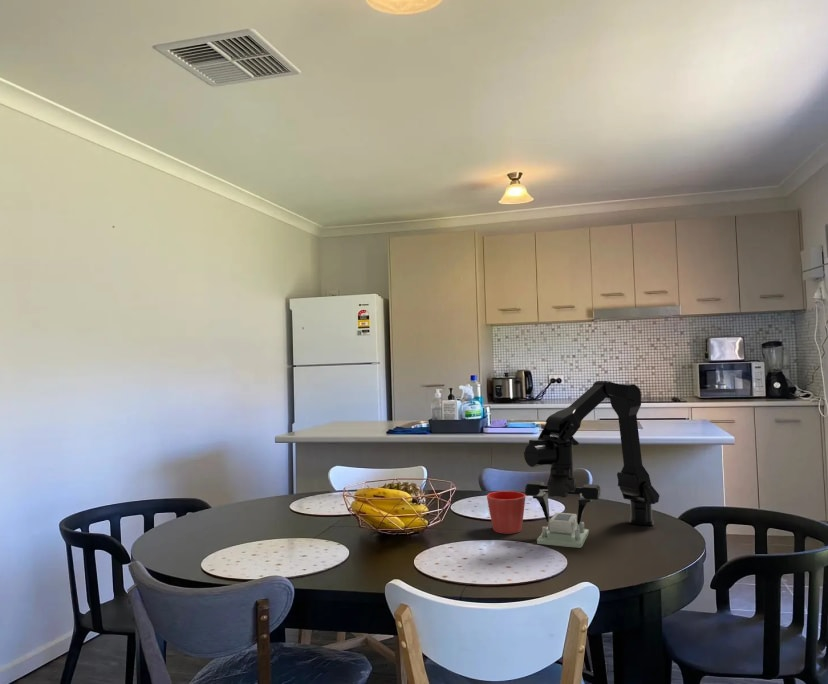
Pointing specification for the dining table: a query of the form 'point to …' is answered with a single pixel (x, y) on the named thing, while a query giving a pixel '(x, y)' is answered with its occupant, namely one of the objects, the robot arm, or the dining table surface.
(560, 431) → the robot arm
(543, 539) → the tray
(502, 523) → the flower pot
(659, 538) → the dining table surface
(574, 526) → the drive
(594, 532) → the dining table surface
